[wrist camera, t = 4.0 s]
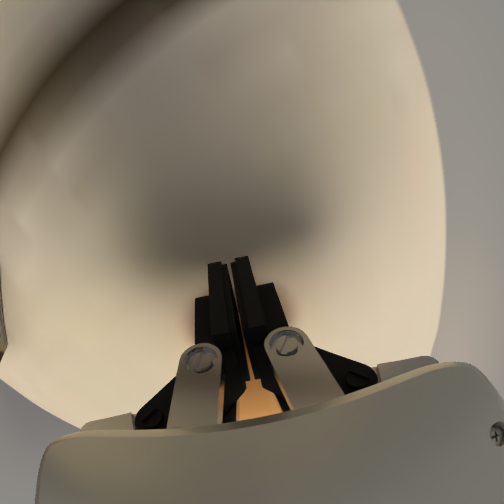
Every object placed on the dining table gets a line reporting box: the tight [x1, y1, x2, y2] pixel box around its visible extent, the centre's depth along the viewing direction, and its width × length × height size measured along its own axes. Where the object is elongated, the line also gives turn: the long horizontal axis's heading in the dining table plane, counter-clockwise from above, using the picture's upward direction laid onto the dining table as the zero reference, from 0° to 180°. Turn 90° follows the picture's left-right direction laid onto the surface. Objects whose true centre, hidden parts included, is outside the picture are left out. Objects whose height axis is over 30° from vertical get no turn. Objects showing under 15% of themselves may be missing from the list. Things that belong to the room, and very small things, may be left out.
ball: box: [239, 316, 281, 421], centre depth 14 cm, size 6×6×6 cm
